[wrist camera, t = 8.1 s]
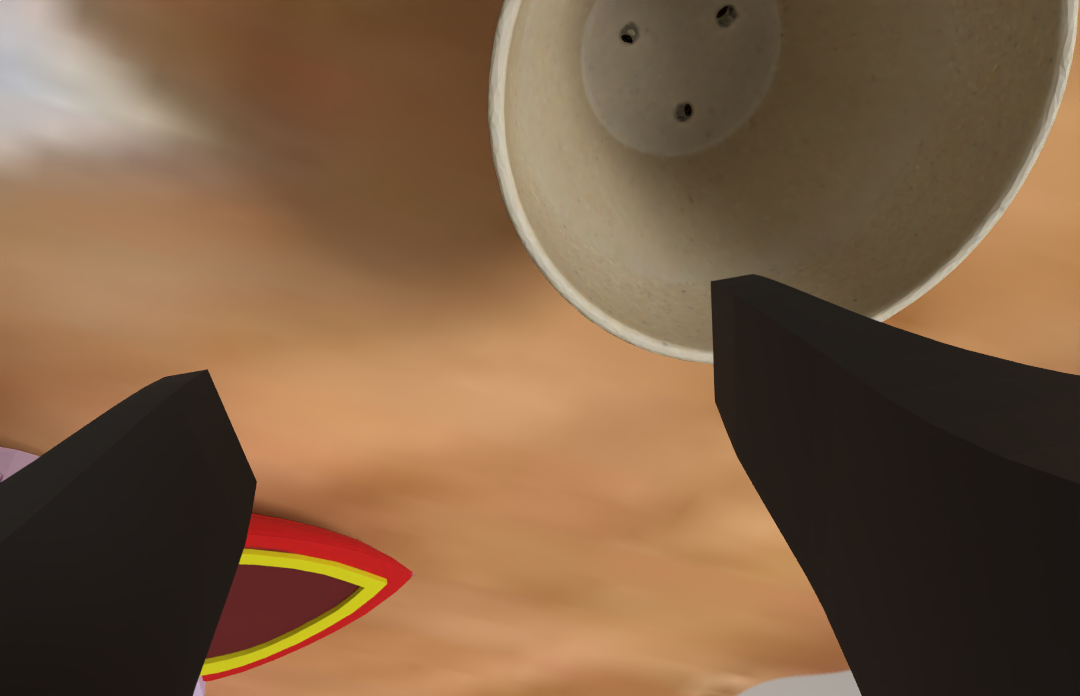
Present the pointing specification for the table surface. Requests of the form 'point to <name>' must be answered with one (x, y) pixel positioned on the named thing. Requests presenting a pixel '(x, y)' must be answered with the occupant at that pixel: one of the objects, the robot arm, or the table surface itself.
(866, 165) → the flower pot
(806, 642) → the table surface
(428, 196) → the table surface
